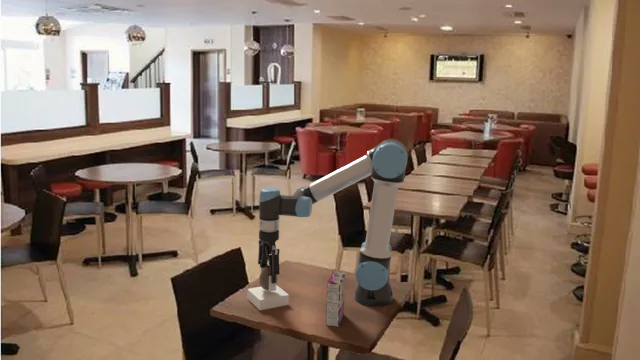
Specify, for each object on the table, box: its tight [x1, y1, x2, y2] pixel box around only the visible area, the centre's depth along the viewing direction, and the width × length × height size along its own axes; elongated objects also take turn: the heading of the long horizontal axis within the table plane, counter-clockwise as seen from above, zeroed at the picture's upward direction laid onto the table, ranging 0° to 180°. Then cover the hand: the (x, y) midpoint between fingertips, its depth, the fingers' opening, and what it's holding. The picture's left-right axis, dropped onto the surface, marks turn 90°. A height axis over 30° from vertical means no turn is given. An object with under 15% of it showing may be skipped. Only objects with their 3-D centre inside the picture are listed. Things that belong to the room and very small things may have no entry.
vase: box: [258, 265, 278, 290], centre depth 221 cm, size 7×7×9 cm
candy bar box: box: [325, 271, 346, 328], centre depth 207 cm, size 11×5×16 cm, turn 169°
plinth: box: [246, 284, 290, 311], centre depth 222 cm, size 12×12×4 cm
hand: (268, 287), depth 222 cm, fingers closed on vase, 7 cm apart
